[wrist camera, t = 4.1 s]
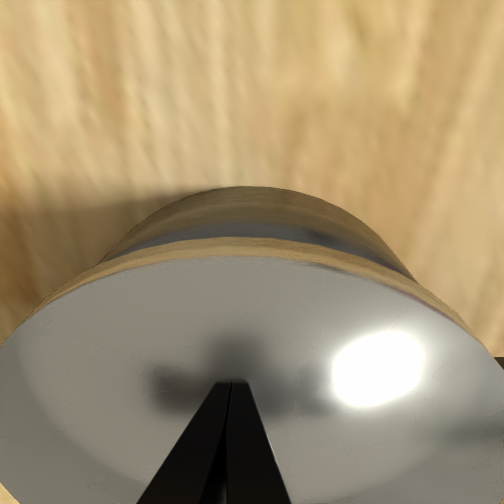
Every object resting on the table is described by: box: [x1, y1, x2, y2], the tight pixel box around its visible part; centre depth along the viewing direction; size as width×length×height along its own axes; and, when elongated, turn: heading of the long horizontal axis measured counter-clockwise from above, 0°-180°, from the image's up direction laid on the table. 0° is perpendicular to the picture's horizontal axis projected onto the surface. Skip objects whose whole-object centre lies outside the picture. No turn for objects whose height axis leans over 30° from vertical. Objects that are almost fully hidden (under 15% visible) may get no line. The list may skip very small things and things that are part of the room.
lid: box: [0, 237, 504, 504], centre depth 10 cm, size 16×16×3 cm
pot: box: [96, 186, 504, 370], centre depth 15 cm, size 18×23×5 cm
